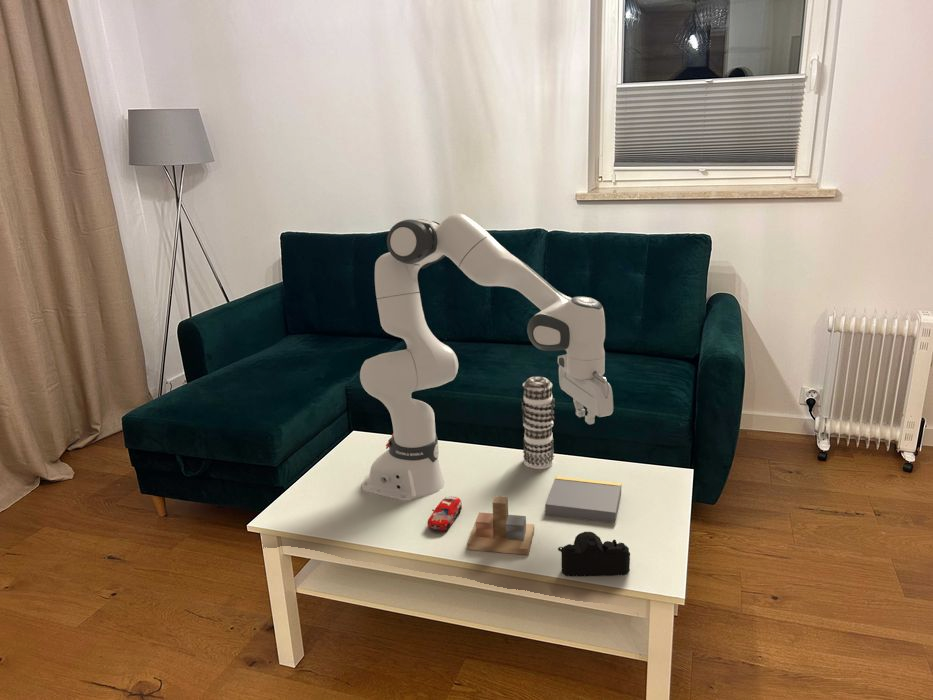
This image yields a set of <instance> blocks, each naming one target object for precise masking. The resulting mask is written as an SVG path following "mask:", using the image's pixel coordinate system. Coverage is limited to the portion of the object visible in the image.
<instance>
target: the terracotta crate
mask: <svg viewBox="0 0 933 700" xmlns="http://www.w3.org/2000/svg"><path fill="white" fill-rule="evenodd" d="M475 521H476V537H486V538H494V530H493V512H491V513H490V512H479V511H478V514H477V517H476V520H475Z"/></svg>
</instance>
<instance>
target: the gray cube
mask: <svg viewBox="0 0 933 700" xmlns="http://www.w3.org/2000/svg"><path fill="white" fill-rule="evenodd" d="M526 524H527V516H526V515H517V514H508V519H507V522H506V539H508V540H519V541H524V538H525V534H526Z"/></svg>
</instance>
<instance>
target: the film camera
mask: <svg viewBox="0 0 933 700" xmlns="http://www.w3.org/2000/svg"><path fill="white" fill-rule="evenodd" d="M557 551H558V552H560V553H561V561H560V562H561V563H560V565H561V574H562V575H564V576H565V577H613V576H615V577H616V576H626V575H627V574H628V573H629V572H630V566H631V563H630V561H631V557H630V556H631V552H630V548H629V547H628V546H627V545H626V544H625V543H624V542H618V543H617V540H616V539H613V540H612V541H608V540H606V541H604V542H603V541H602V539H601V537H600V536H598V535H597V534H596V533H594V532H593V531H582V532H581V533H579V534H577V535H576V536H575V539H574V541H573V544H571V543H569V544H566V545H564V546H559V547H557Z"/></svg>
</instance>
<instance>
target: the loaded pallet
mask: <svg viewBox="0 0 933 700" xmlns="http://www.w3.org/2000/svg"><path fill="white" fill-rule="evenodd" d="M492 513H493V530H494V538H486V537H476V520H475V522H474V524H473V527H472V530H471V532H470V535H469V538H468V539H467V544H466V545H467V547H466V548H467V550H471V551H482V552H493V553H502V554H503V553H504V554H514V555H522V556H523V555H527V556H529V555H530V552H531V551H530V550H531V546H532V543H533V537H534V536H535V524H534V523H526V534H525V538H524V541H519V540H508V539H506V522H507V519H508V515H509V497H508V496H501V495H500V496H499V495H495V496H494V498H493V500H492Z"/></svg>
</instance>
